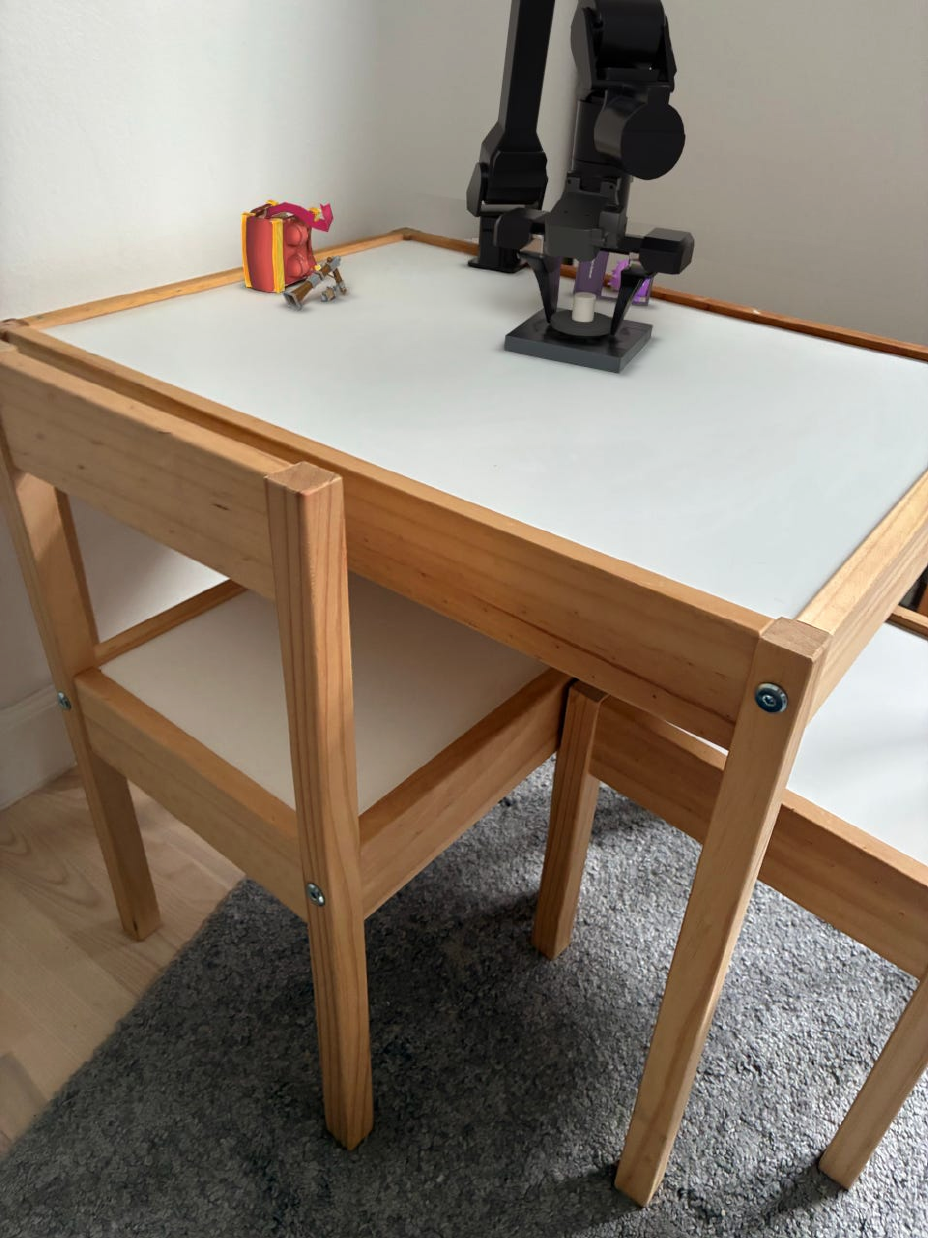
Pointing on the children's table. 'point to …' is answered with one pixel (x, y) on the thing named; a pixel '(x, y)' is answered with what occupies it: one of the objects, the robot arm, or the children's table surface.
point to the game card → (594, 274)
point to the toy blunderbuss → (314, 280)
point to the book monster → (280, 244)
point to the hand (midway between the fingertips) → (581, 328)
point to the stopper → (582, 319)
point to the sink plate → (579, 343)
